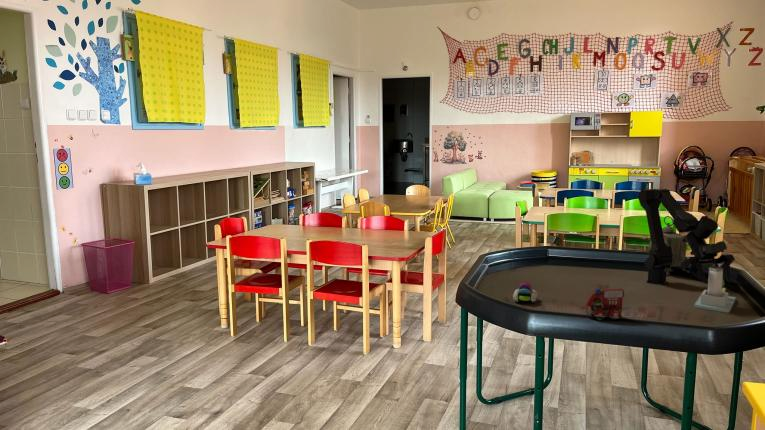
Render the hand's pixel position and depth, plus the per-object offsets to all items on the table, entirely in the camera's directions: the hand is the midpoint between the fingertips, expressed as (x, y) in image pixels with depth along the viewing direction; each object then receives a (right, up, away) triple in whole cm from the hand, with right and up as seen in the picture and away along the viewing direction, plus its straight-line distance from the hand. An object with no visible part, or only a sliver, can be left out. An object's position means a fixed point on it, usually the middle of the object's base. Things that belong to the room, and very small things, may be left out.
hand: (718, 282), depth 214 cm
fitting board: (+2, -8, +5) cm, 10 cm away
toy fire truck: (-44, -11, -7) cm, 46 cm away
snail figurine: (+12, -5, +23) cm, 27 cm away
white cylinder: (0, -8, +3) cm, 8 cm away
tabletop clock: (+5, -1, +49) cm, 50 cm away
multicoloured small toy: (-66, -9, +13) cm, 68 cm away
